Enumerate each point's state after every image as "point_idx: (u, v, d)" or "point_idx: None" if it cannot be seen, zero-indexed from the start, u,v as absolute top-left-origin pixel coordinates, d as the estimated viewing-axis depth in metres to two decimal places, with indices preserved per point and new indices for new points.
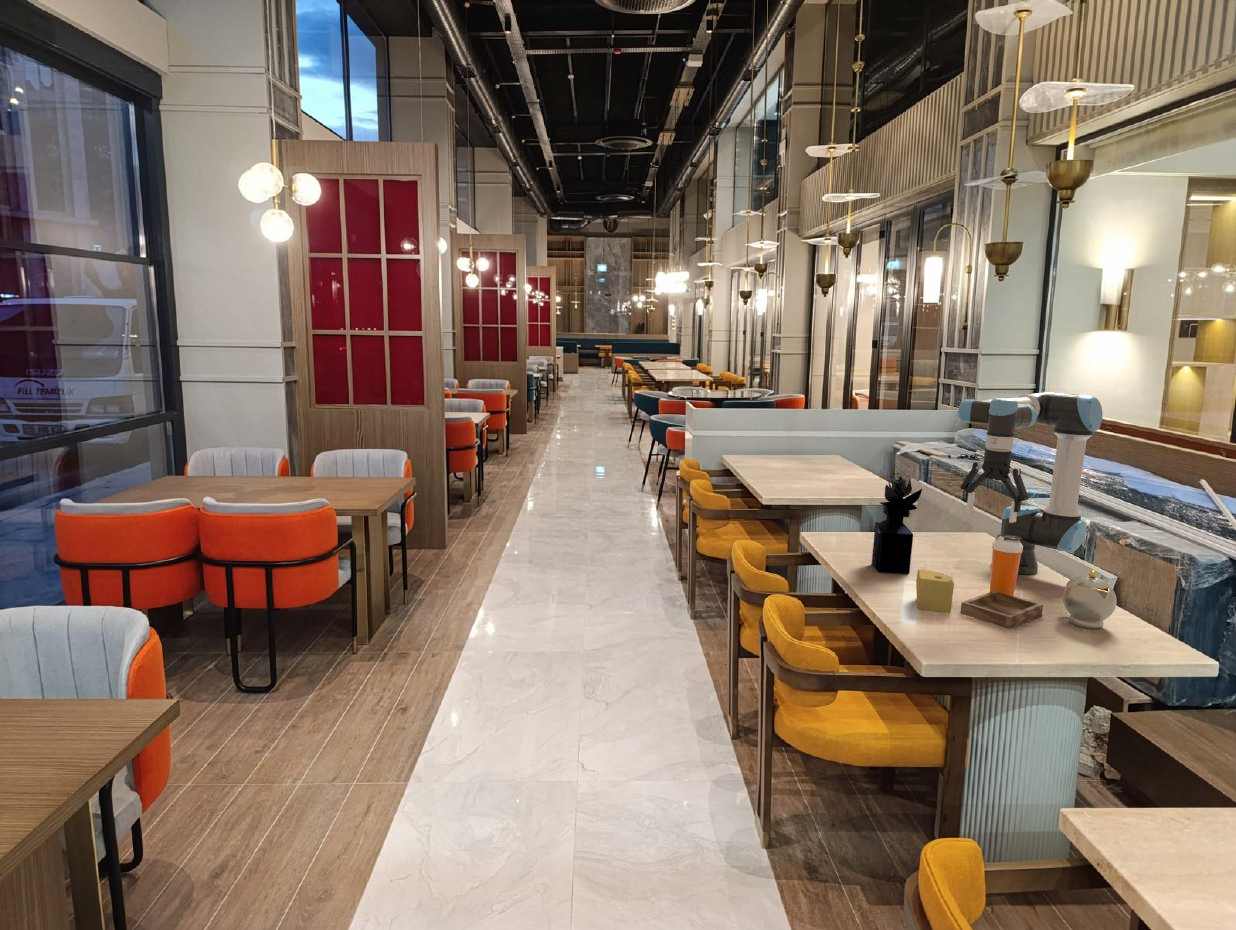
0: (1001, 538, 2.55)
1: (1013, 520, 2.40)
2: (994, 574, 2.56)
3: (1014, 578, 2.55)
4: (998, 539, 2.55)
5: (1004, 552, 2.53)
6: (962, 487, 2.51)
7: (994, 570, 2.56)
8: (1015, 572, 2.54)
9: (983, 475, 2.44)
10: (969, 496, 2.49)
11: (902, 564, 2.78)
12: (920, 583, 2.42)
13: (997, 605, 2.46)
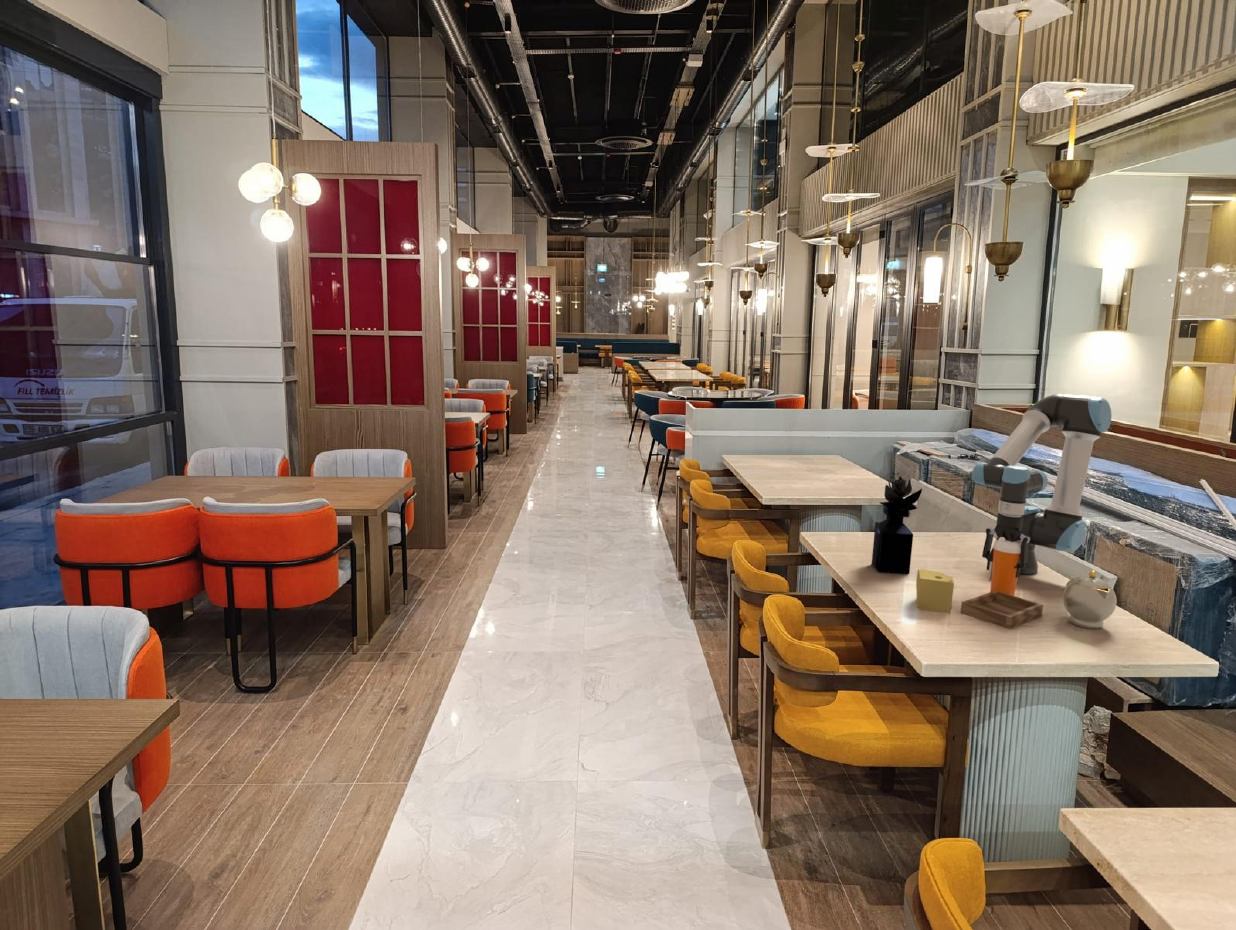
0: (1002, 538, 2.54)
1: None
2: (995, 574, 2.56)
3: (1015, 579, 2.54)
4: (999, 539, 2.54)
5: (1005, 553, 2.53)
6: (984, 555, 2.61)
7: (995, 571, 2.56)
8: None
9: None
10: (991, 565, 2.59)
11: (902, 564, 2.78)
12: (920, 583, 2.42)
13: (997, 605, 2.46)
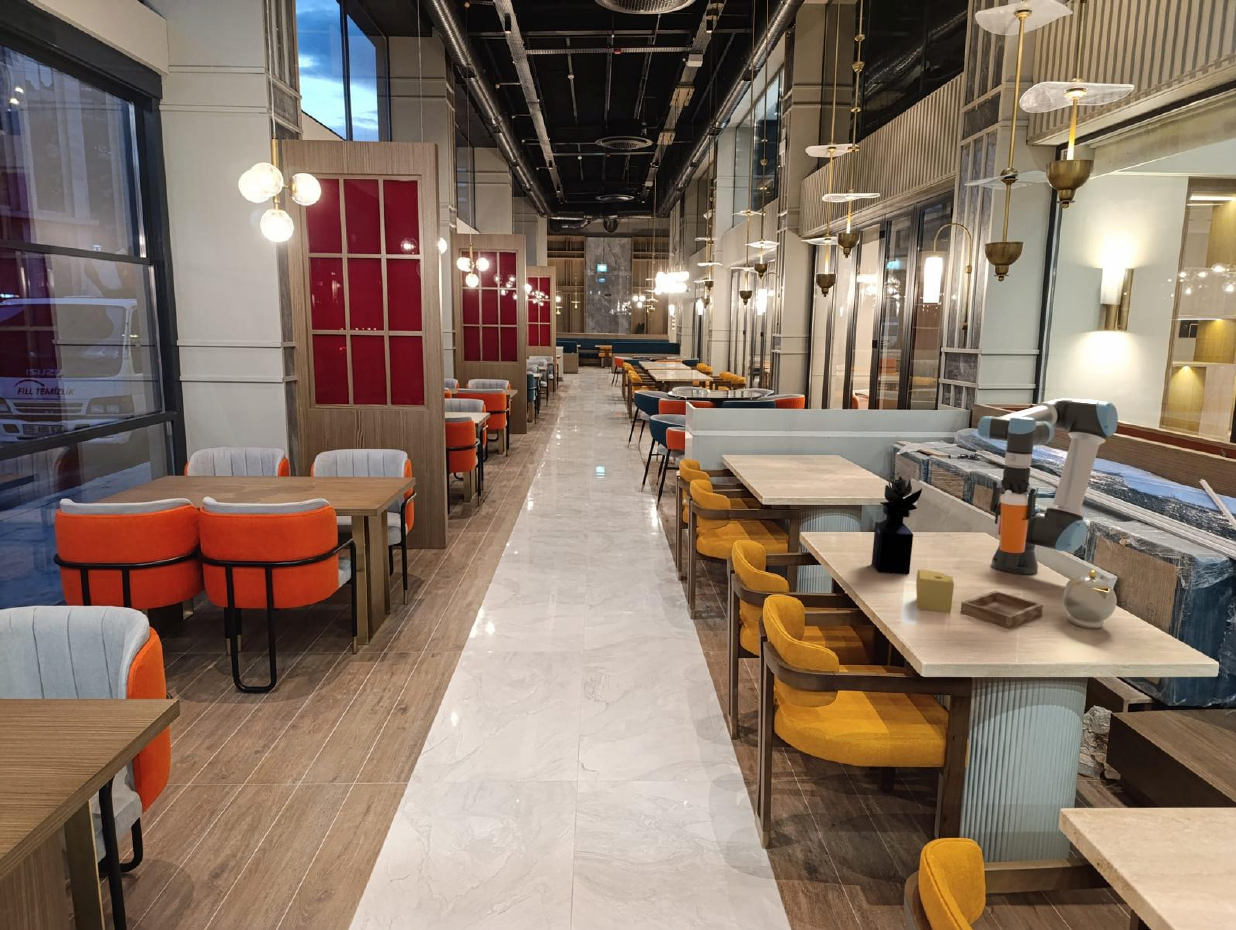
0: (1009, 491, 2.51)
1: None
2: (1004, 528, 2.53)
3: (1025, 531, 2.51)
4: (1006, 492, 2.52)
5: (1012, 505, 2.50)
6: (992, 509, 2.58)
7: (1003, 525, 2.53)
8: (1025, 525, 2.51)
9: None
10: (999, 518, 2.57)
11: (902, 564, 2.78)
12: (920, 583, 2.42)
13: (997, 605, 2.46)
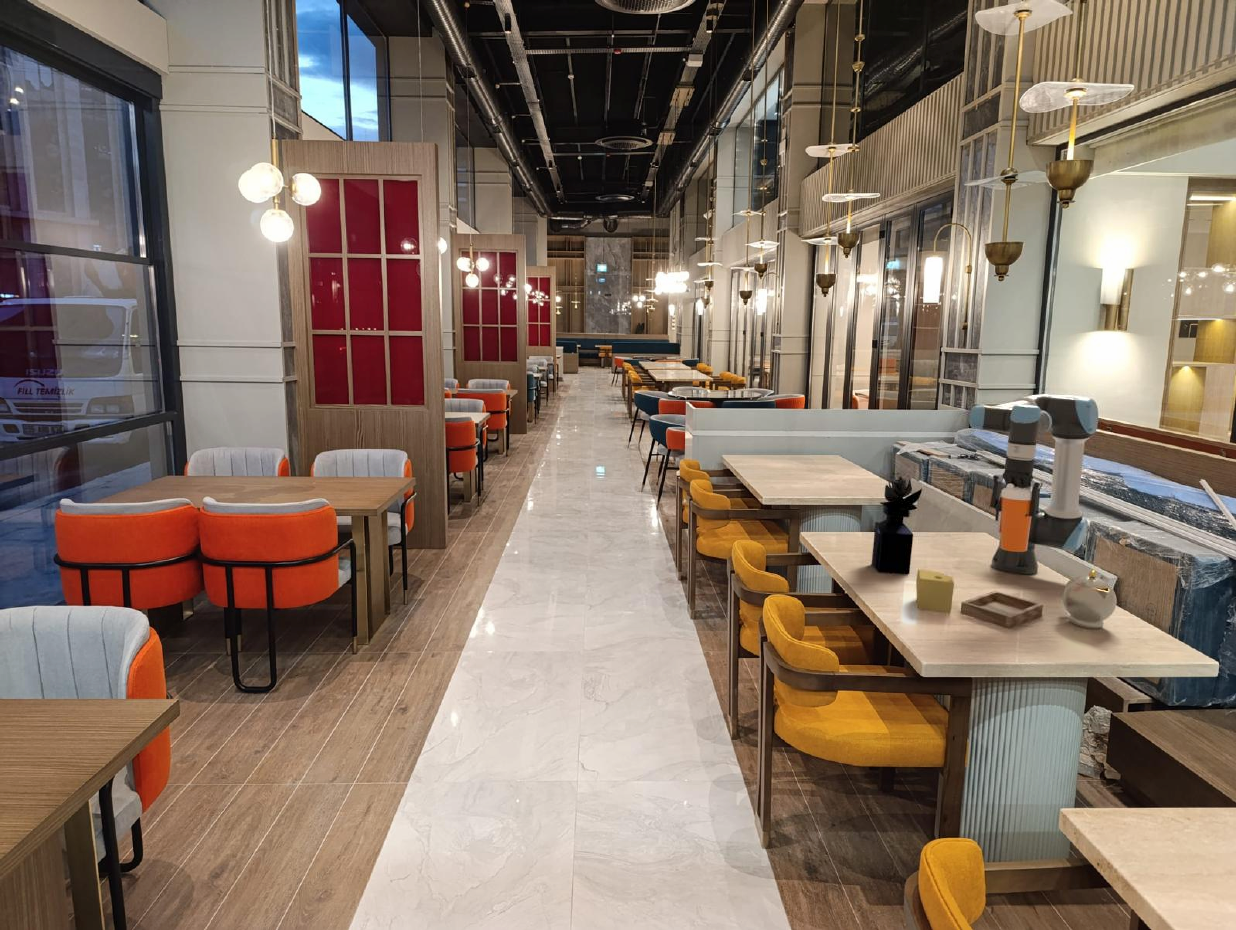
0: (1011, 485, 2.33)
1: None
2: (1005, 525, 2.34)
3: (1027, 529, 2.33)
4: (1007, 486, 2.33)
5: (1015, 500, 2.31)
6: (992, 505, 2.39)
7: (1005, 521, 2.34)
8: (1028, 522, 2.32)
9: None
10: (1000, 515, 2.38)
11: (902, 564, 2.78)
12: (920, 583, 2.42)
13: (997, 605, 2.46)
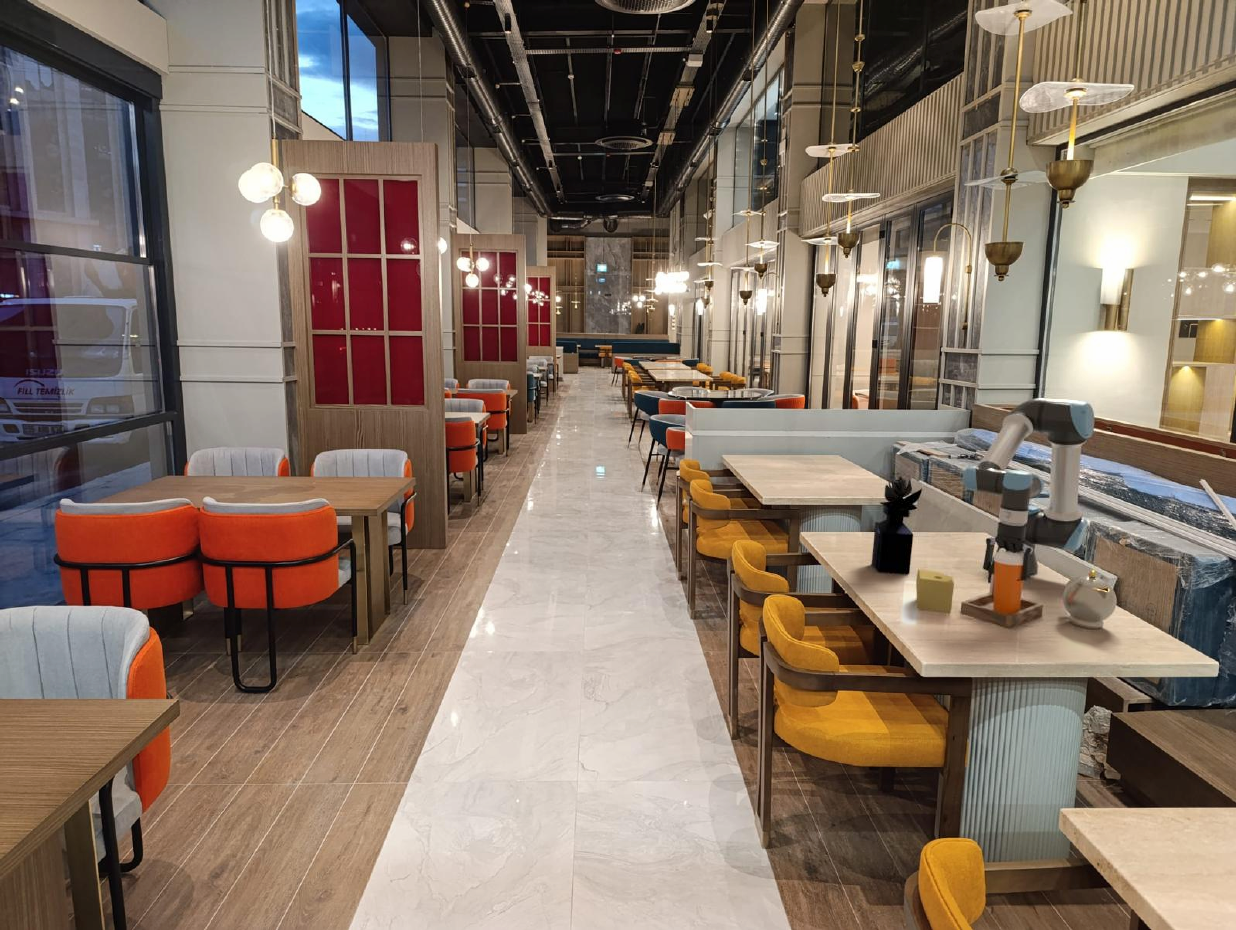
0: (1003, 549, 2.36)
1: None
2: (998, 588, 2.38)
3: (1020, 593, 2.36)
4: (1000, 551, 2.36)
5: (1007, 565, 2.34)
6: (985, 567, 2.43)
7: (997, 585, 2.38)
8: (1020, 586, 2.35)
9: None
10: (992, 577, 2.41)
11: (902, 564, 2.78)
12: (920, 583, 2.42)
13: None
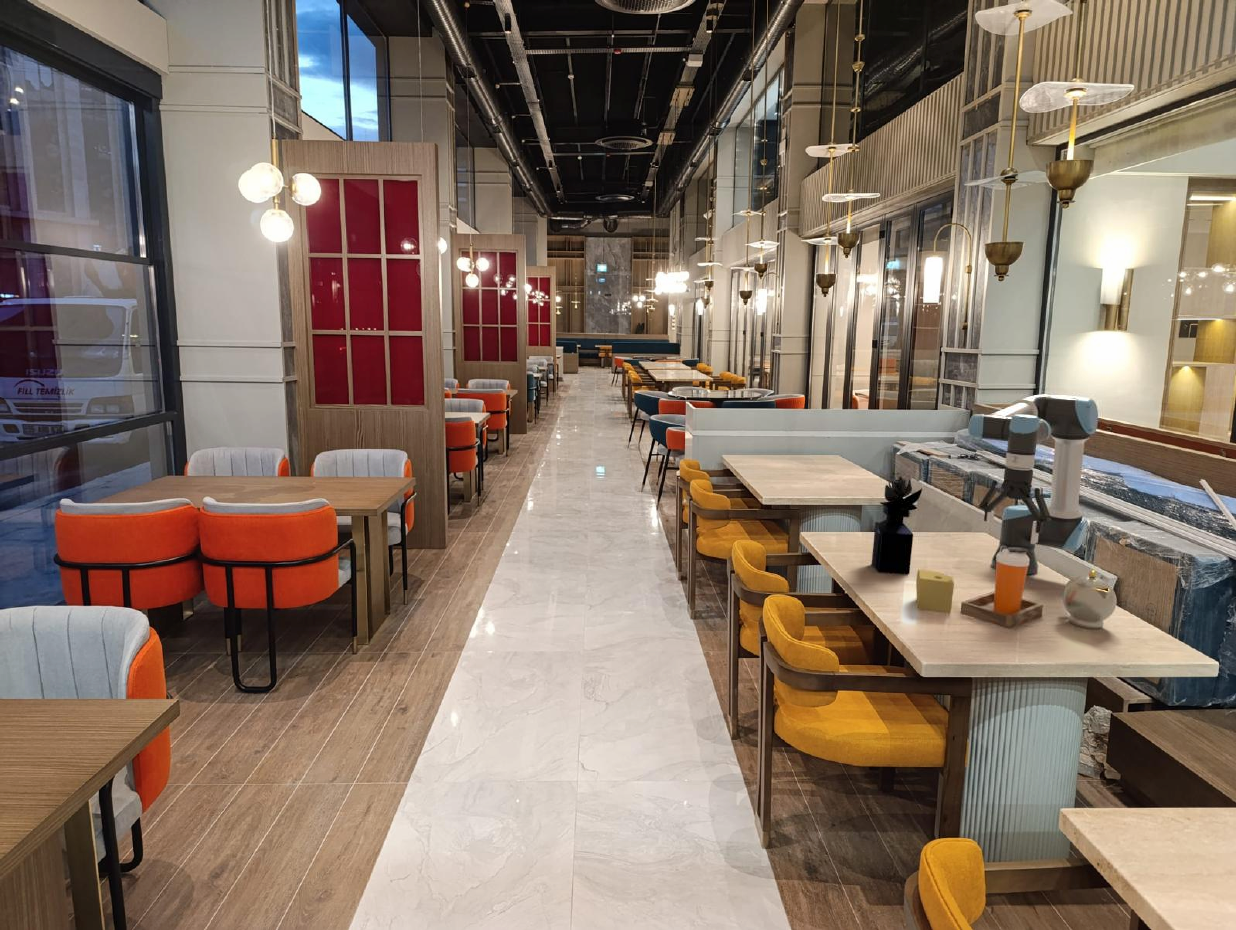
0: (1006, 550, 2.35)
1: (1034, 541, 2.31)
2: (999, 589, 2.37)
3: (1021, 594, 2.36)
4: (1003, 551, 2.36)
5: (1009, 566, 2.34)
6: (981, 506, 2.42)
7: (998, 585, 2.37)
8: (1021, 587, 2.35)
9: (1003, 494, 2.36)
10: (988, 515, 2.41)
11: (902, 564, 2.78)
12: (920, 583, 2.42)
13: None
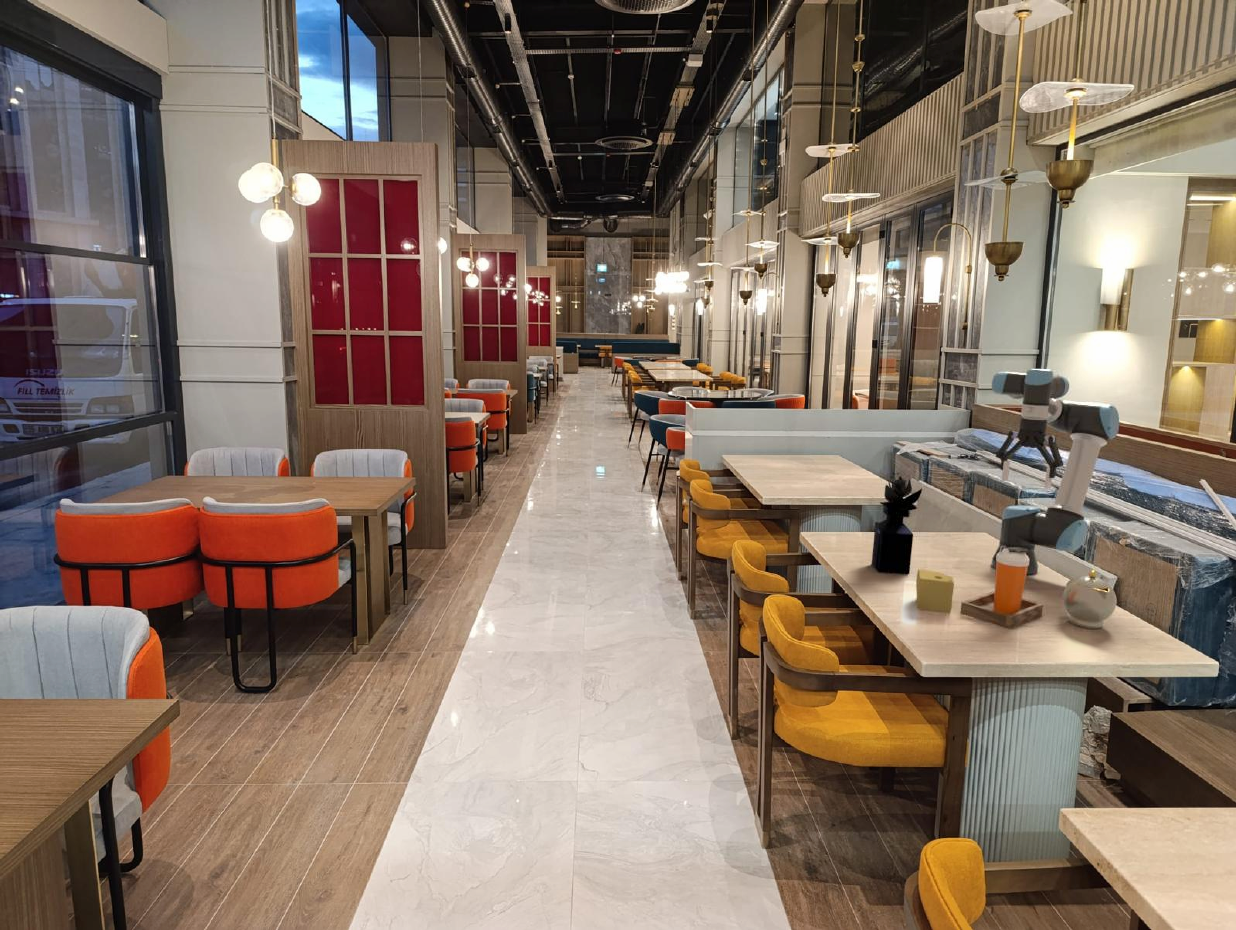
0: (1006, 550, 2.35)
1: (1048, 486, 2.49)
2: (999, 589, 2.37)
3: (1020, 594, 2.36)
4: (1003, 551, 2.36)
5: (1009, 566, 2.34)
6: (998, 455, 2.60)
7: (998, 585, 2.37)
8: (1021, 587, 2.35)
9: (1019, 443, 2.54)
10: (1004, 464, 2.58)
11: (902, 564, 2.78)
12: (920, 583, 2.42)
13: None
